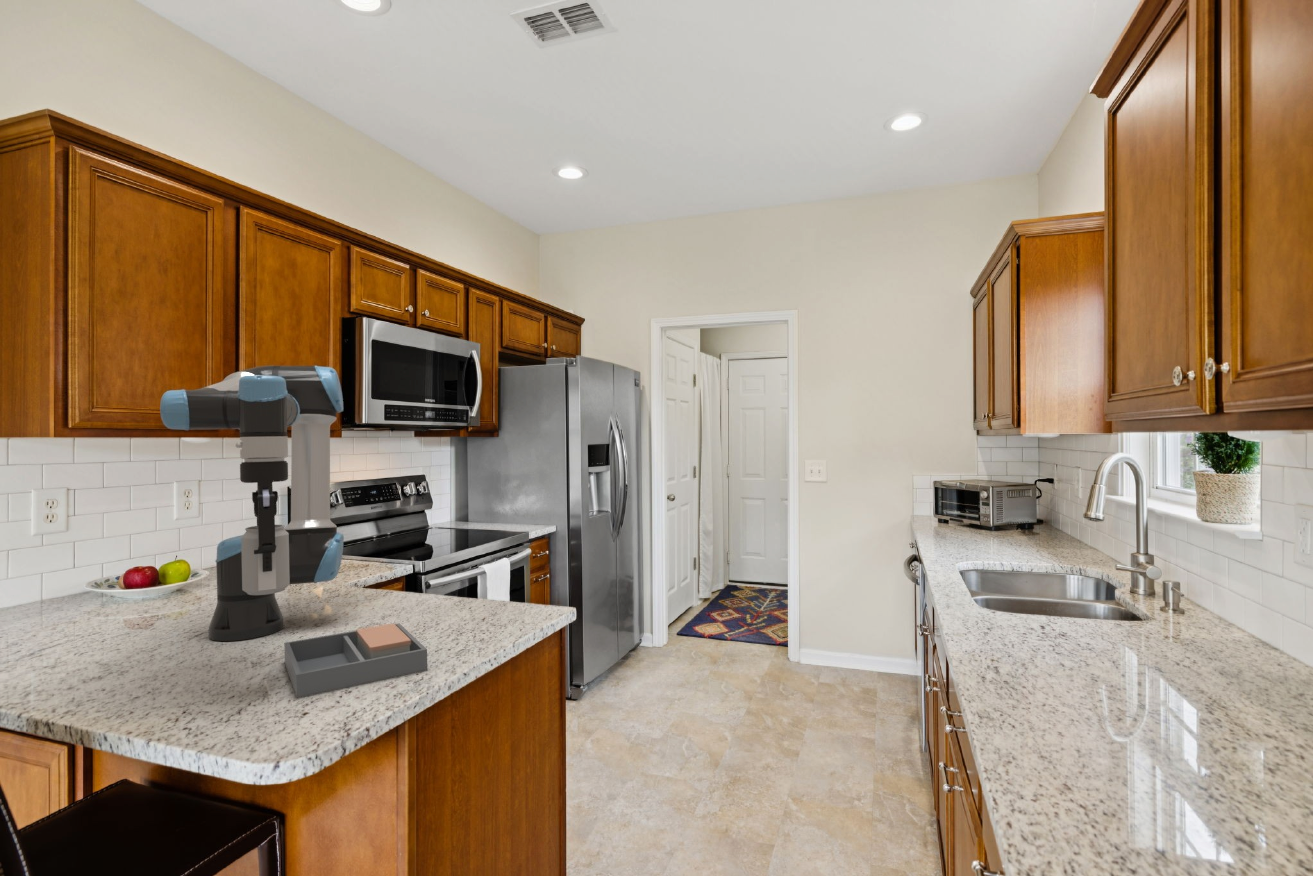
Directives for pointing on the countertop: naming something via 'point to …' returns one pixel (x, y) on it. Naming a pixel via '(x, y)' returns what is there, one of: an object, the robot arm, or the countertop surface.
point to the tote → (345, 663)
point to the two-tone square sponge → (382, 641)
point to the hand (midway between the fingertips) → (266, 584)
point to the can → (251, 560)
